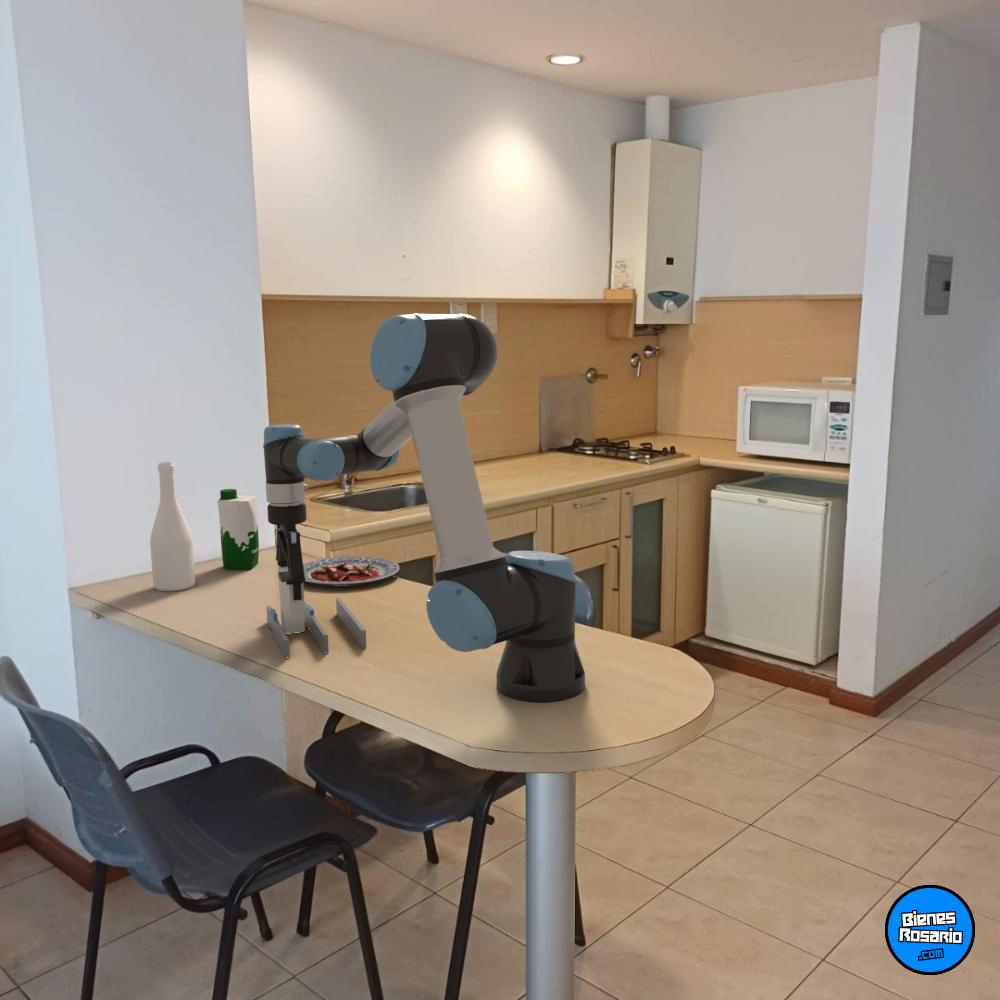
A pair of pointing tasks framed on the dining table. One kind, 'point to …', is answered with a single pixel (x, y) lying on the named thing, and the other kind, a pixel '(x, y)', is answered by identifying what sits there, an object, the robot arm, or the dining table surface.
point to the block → (288, 608)
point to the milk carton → (238, 530)
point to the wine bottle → (171, 539)
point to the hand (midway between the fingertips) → (291, 606)
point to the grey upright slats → (317, 626)
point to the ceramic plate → (349, 570)
